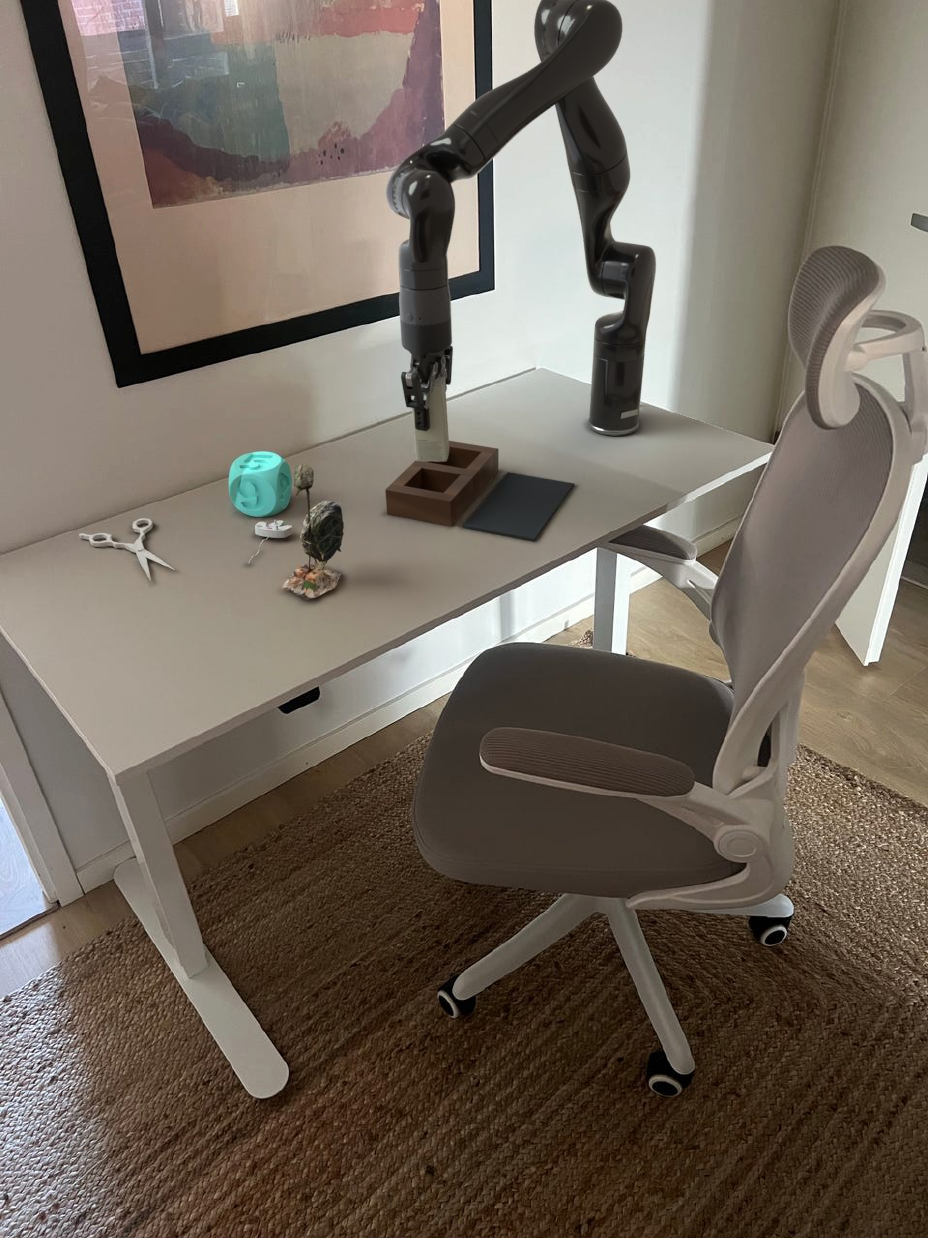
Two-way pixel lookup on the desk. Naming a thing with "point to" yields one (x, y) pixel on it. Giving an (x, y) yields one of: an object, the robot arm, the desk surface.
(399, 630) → the desk surface
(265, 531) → the game controller
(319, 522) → the plant with pod
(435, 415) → the box
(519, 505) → the mat
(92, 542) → the scissors
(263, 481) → the decorative dice
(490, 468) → the rack
